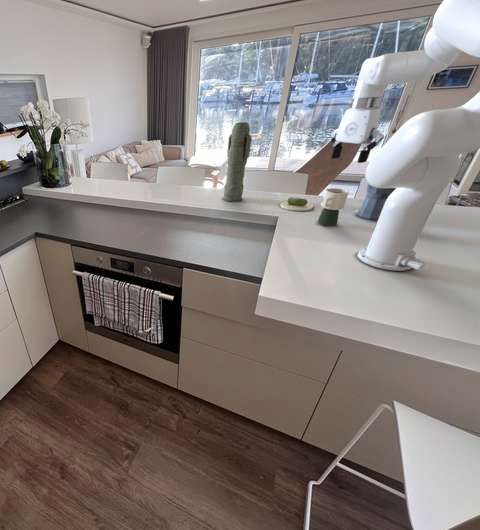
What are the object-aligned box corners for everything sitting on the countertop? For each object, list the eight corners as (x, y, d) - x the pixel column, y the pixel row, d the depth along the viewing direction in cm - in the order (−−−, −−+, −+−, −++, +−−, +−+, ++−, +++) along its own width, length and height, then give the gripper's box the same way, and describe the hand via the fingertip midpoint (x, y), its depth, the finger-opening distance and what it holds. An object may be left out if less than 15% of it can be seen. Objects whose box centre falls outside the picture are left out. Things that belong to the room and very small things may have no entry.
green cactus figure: (236, 203, 139) (247, 123, 122) (217, 198, 148) (224, 123, 131) (248, 199, 143) (259, 121, 126) (228, 195, 152) (236, 122, 135)
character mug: (325, 218, 116) (334, 186, 109) (344, 223, 110) (355, 189, 104) (309, 224, 111) (318, 191, 105) (328, 230, 106) (339, 195, 100)
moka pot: (371, 210, 119) (390, 160, 110) (399, 223, 106) (423, 168, 96) (347, 211, 121) (363, 161, 111) (371, 224, 107) (392, 169, 98)
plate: (320, 208, 126) (320, 206, 125) (295, 213, 123) (296, 211, 123) (296, 200, 137) (296, 198, 136) (273, 204, 134) (273, 203, 134)
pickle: (307, 205, 128) (309, 198, 126) (305, 207, 126) (307, 200, 125) (287, 202, 133) (289, 196, 131) (285, 204, 131) (287, 197, 130)
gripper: (331, 105, 98) (317, 157, 106) (384, 104, 83) (364, 165, 92) (348, 103, 99) (333, 155, 108) (404, 102, 85) (382, 162, 93)
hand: (347, 160), depth 100 cm, fingers open, 9 cm apart
